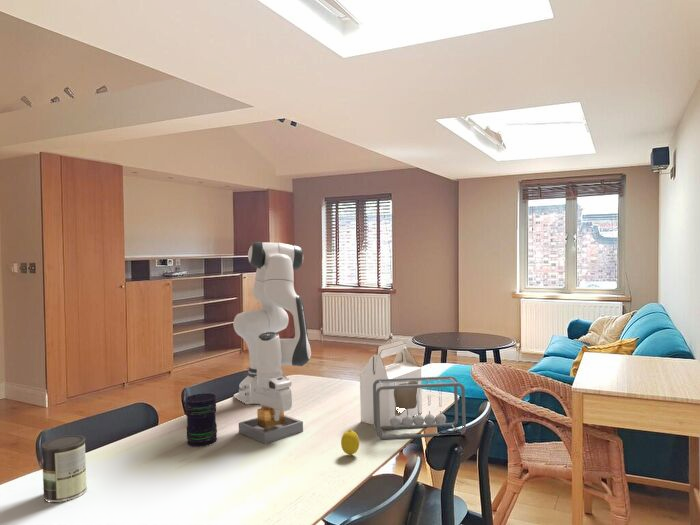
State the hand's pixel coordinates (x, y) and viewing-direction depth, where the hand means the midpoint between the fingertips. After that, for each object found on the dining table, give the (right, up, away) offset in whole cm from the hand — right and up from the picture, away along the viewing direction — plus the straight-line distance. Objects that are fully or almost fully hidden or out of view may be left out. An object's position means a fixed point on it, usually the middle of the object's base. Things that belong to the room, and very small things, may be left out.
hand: (270, 418), depth 182 cm
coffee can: (-48, -7, -44) cm, 65 cm away
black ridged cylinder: (-22, -6, -7) cm, 24 cm away
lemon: (+28, -5, -23) cm, 37 cm away
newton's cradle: (+51, -4, -4) cm, 52 cm away
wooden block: (0, -2, 0) cm, 2 cm away
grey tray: (0, -5, 0) cm, 5 cm away
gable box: (+44, -4, +13) cm, 46 cm away
